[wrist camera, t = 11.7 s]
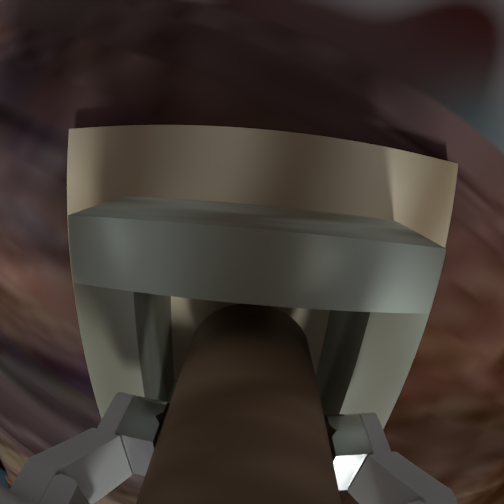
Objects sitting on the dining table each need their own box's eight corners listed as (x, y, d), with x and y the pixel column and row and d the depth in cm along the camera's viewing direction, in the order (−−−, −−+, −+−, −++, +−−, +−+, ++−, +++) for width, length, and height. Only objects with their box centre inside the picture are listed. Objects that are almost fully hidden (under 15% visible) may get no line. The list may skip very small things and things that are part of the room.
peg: (318, 308, 11) (384, 523, 3) (298, 400, 12) (318, 580, 4) (191, 297, 11) (99, 504, 3) (191, 391, 12) (146, 568, 4)
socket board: (448, 163, 12) (521, 172, 7) (369, 438, 16) (387, 499, 12) (78, 130, 12) (5, 125, 7) (107, 416, 16) (79, 472, 12)
